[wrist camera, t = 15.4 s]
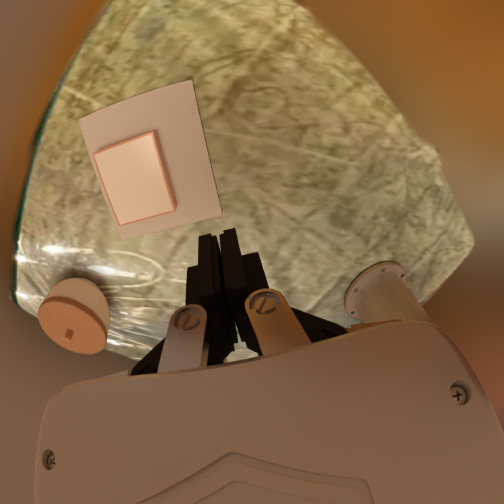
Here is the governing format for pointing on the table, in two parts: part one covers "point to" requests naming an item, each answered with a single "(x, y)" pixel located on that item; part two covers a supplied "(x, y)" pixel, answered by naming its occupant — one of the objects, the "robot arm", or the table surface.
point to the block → (136, 178)
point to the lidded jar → (76, 315)
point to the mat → (173, 149)
